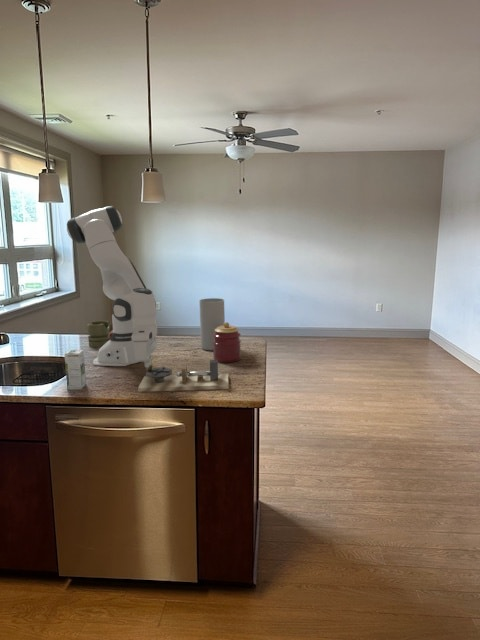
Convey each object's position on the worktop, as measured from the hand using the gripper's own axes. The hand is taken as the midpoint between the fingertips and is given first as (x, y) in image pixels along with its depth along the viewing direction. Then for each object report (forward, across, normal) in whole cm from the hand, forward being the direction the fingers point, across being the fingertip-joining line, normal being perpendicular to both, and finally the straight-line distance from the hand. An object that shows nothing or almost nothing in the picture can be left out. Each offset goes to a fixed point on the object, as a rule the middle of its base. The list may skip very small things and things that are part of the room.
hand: (147, 366), depth 165 cm
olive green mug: (+8, -67, -42) cm, 80 cm away
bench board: (+8, -2, +14) cm, 16 cm away
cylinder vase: (+8, -57, +20) cm, 61 cm away
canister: (+9, -36, +29) cm, 47 cm away
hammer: (+6, -3, +19) cm, 20 cm away
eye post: (+7, -2, +14) cm, 15 cm away
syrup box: (+8, 0, -28) cm, 29 cm away
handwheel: (+4, -2, +4) cm, 6 cm away
